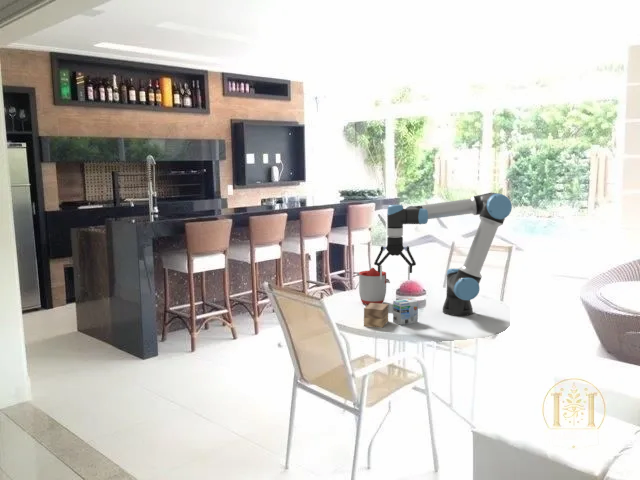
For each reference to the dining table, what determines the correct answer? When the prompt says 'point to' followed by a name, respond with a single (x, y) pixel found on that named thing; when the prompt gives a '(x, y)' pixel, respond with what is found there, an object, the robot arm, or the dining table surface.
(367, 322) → the tower base
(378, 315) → the tower top
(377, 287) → the citrus juicer
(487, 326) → the dining table surface
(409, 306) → the light bulb box
